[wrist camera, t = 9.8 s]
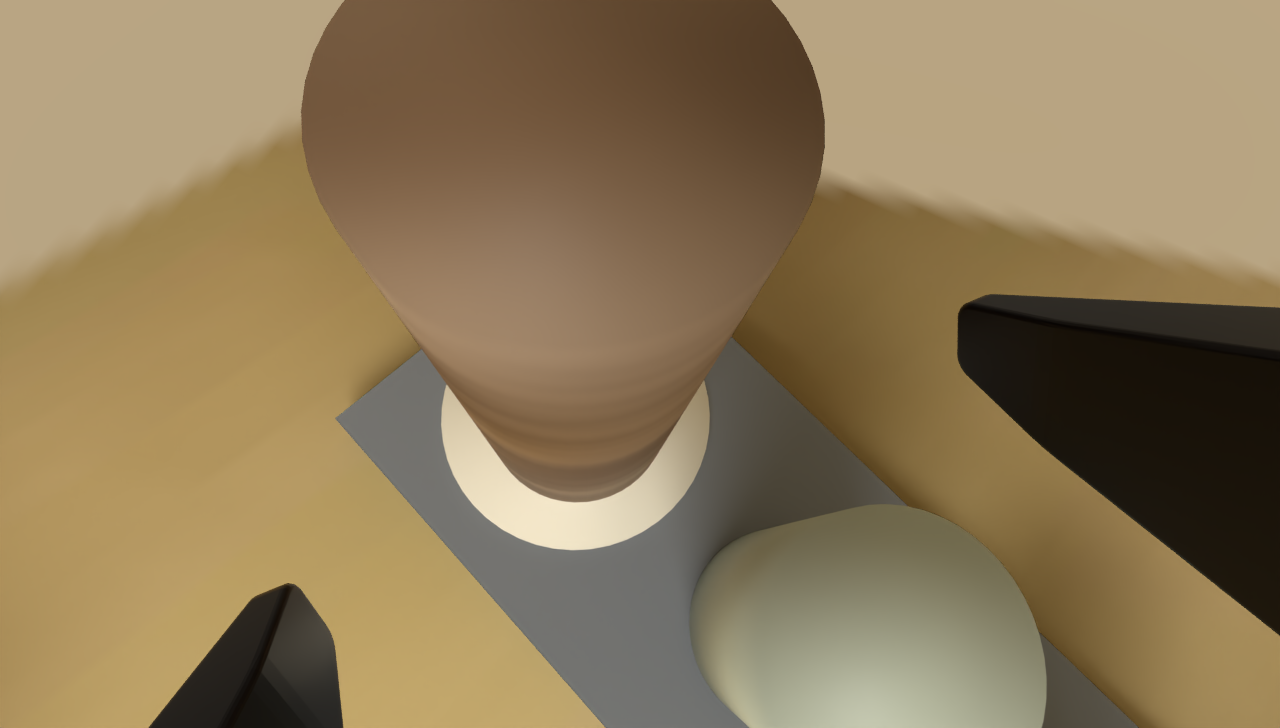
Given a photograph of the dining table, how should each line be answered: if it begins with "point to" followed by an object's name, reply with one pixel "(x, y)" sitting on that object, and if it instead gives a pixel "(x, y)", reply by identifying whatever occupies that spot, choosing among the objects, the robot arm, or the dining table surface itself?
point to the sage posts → (867, 626)
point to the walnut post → (566, 203)
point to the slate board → (637, 534)
